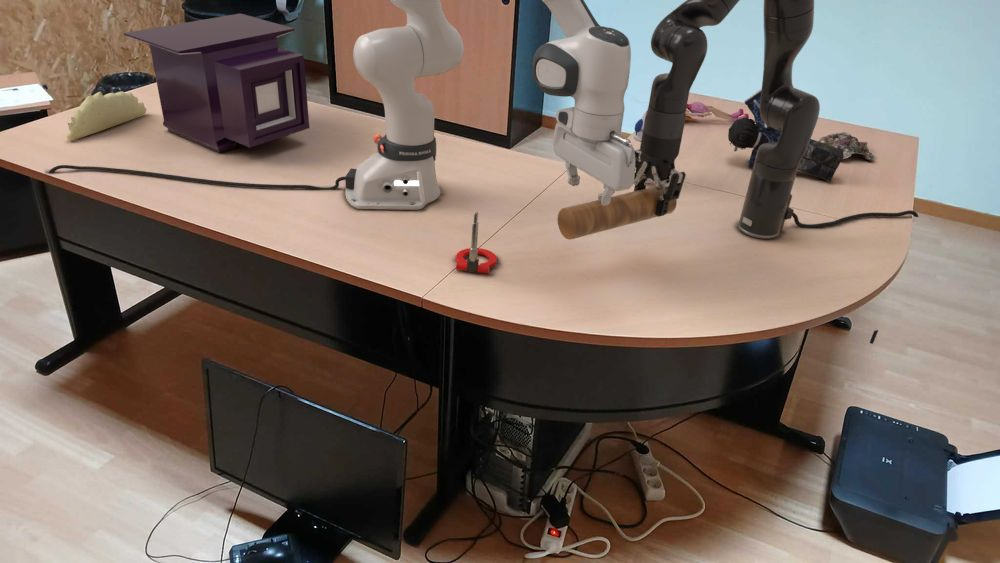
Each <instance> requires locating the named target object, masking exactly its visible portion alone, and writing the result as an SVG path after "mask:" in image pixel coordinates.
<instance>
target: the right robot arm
mask: <svg viewBox="0 0 1000 563" xmlns="http://www.w3.org/2000/svg"><path fill="white" fill-rule="evenodd" d="M739 2H740V0H685V1H683V2H682V3H681V4H679V6H677V7H676V8H675V9H673V10H672V11H670V13H668V14H667V15H666V16H665V17H663V19H661V20H660V21H659V23H658V24H657V25H656V26H655V28H654V31H652V34H651V37H650V38H651V39H650V49H651V51H652V53H653V54H654V55H655V56H656V57H657V58H660V59H661V60H664V61H667V62H668V63H671V64H672V65H671V67H670V70H669V72H666V73H660V74H658V75H656V76H655V77H654V79H653V81H652V84H651V89H650V96H649V101H648V106H647V110H646V111H647V113H646V116H645V122H644V128H643V134H642V140H641V142H640V146H639V149H634V150H635V177H634V184H633V186H634V188H633V191H638V190H642V189H646V188H647V185H646V184H647V183H646V182H647V180H648V179H649V178H651V179H652V182H653V183H654V187H655V188H656V189H657V190H658V196H659V199H658V202H657V207H656V213H655V215H656V216H658V217H657V218H659V217H663V216H666V215H667V214H666V213H667V211H668V205H669V201H671V200H675V199H677V200H678V199H679V198H680V195H681V192H682V189H683V186H684V183H685V180H686V176H687V175H686V172H685V171H678V170H677V169H676V165H675V161H676V159H677V157H678V156H679V155H680V149H681V144H682V138H683V133H684V129H685V125H686V120H685V113H686V110H687V109H686V107H687V104H688V101H689V96H690V91H691V88H692V86H693V84H694V82H695V80H696V78H697V76H698V74H699V72H700V69H701V67H702V65H703V63H704V62H705V59H706V56H707V53H708V39H707V35H706V33H705V32H704V31H703V29H701V28H703V27H715V26H717V25H720V24H721V23H722V22H723V21H724V20H725V18H726V17H727V16H728V15H729V14H730V13H731V11H733V9H734V8H735V6H736V5H737V4H738V3H739ZM814 20H815V0H763V69H762V70H763V73H762V82H761V89H762V90H761V100H760V115H761V118H762V121H763V122H764V123H765V124H766V125H768V126H770V127H772V128H774V129H776V130H778V131H780V132H781V135H780V138H779V140H778V142H769V143H764V144H762V145H760V147H759V148H758V151H757V155H756V159H755V163H754V166H753V169H752V171H751V173H750V174H751V175H750V178H749V181H748V182H749V183H748V186H747V190H746V193H745V197H744V201H743V205H742V209H741V212H740V216H739V219H738V222H737V228H738V230H739V231H740V232H741V233H743V234H745V235H747V236H749V237H752V238H755V239H762V240H771V239H775V238H777V237H778V236H779V235H780V233H782V232H783V229H784V226H785V223H786V222H785V221H786V220H791V219H792V218H793V221H794V223H795V225H796V226H797V227H800V228H805V229H819V228H824V227H831V226H836V225H839V224H841V223H844V222H847V221H851V220H855V219H859V218H868V217H886V218H888V217H889V218H891V217H892V218H894V217H896V218H897V217H902V216H907V215H912V216H913V217H914V218H919V214H918V213H917V211H914V210H904V211H899V212H864V213H856V214H853V215H848V216H845V217H841V218H839V219H836V220H833V221H827V222H821V223H815V224H814V223H813V224H806V223H802V222H800V220H799V217H798V215H797V214H796V213H795V212H794V210H795V209H793V208H791V207H790V205H791V202H792V200H793V199H792V198H793V194H792V193H791V192H792V190H793V187H794V183H795V180H796V176H797V174H798V171H799V170H798V166H799V163H800V160H801V158H802V157H803V155H804V154H805V152H806V150H807V148H808V145H809V142H810V139H812V136H813V134H814V131H815V128H816V125H817V123H818V119H819V117H820V116H819V115H820V110H821V104H820V100H819V99H818V98H817V96H815V95H814V94H811V93H808V92H807V91H804V90H801V89H799V88H796V87H794V85H793V68H794V62H795V60H796V58H797V56H798V55H799V54H800V52H801V51H802V50H803V48H804V47H805V45H806V43H807V42H808V41H809V39H810V37H811V36H812V35H811V34H812V33H813V30H814V29H813V28H814ZM662 182H664V183H662ZM664 188H665V191H666V193H665V194H664ZM665 214H666V215H665ZM878 332H879V329H875V330H873V333H872V336H871V338H870V340H869V344H871V345H873V344H874V343H875V340H876V338H877V335H878Z"/></svg>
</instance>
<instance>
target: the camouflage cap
mask: <svg viewBox="0 0 1000 563" xmlns="http://www.w3.org/2000/svg"><path fill="white" fill-rule="evenodd" d="M817 141H818V142H821V143H824V144H827V145H830V146H833V147H835V148H838V149H842V150H843V155H844V157H843V159H842V160H844V159H848V158H851V157H852V155H853V154H854V155H857V154H859V155H860V156H861V158H863V159H865V160H866V161H871V162H874V160H875V159H874V158H875V155H874V154H873V153H872V152H871V151H870V149H869V147H868V142H867V141H859V139H858V137H855V136H853V135H852V134H851V133H849V132H848V131H846V132H844V131H843V132H836V133H830V134H827V135H826V136H822V137H820V138H819V140H817ZM873 157H874V158H873Z"/></svg>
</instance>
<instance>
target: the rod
mask: <svg viewBox="0 0 1000 563" xmlns="http://www.w3.org/2000/svg"><path fill="white" fill-rule="evenodd" d="M665 193H666V191H665V188H664V194H665ZM658 199H659V196H658V190H657V189H656V188H655V186H651V187H646V188H645V189H642V190H638V191H634V190H633V191H629V192H626V193H621V194H617V195H612V196H611V200H610V204H609V205H605V206H603V205H602V204H600V203H599V202H598V199H595V200H591V201H586V202H583V203H578V204H575V205H574V204H573V205H571V206H565V207H562V208H561V209H560V210H559V211H558V214H557V227H558V230H559V232H560V234H561V235H562V236H563V237H564V238H565V239H567V240H569V241H570V240H575V239H579V238H582V237H587V236H589V235H593V234H597V233H601V232H604V231H609V230H612V229H616V228H620V227H624V226H627V225H628V226H629V225H631V224H635V223H640V222H644V221H647V220H650V219H651V220H652V219H655V218H659V217H658V216H656V215H655V213H656V207H657V202H658ZM677 200H678V199H675V200H671V201H669V205H668V211H667V213H666V214H665V215H664V216H666V215H670V214H672V213H673V212H674V211H675V210H676V208H677V202H678V201H677Z"/></svg>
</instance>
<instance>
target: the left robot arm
mask: <svg viewBox="0 0 1000 563" xmlns="http://www.w3.org/2000/svg"><path fill="white" fill-rule="evenodd" d="M389 1H390V3H391V4H393V6H395V7H397V8H398V9H400V10H401V11H403V12H405V14H406V24H405V25H403V26H394V27H387V28H378V29H376V30H375V29H374V30H373V31H369V32H367V33H365V34H361V35H360V36H359V37H358V38H357V39H356V41H355V43H354V46H353V52H352V59H353V64H354V67H355V69H356V71H357V72H358V74H359V75H360V76H361V77H362V78H363V79H364V81H367V82H368V83H370V84H371V85H372V86H373V87H374V88H375V89H376V91H377V92H378V93H379V95H380V98H381V100H382V105H383V108H384V118H385V135H383V136H382V135H381V134H380V133H375V134H374V135H373V138H372V140H373V142H374V143H375V144H376V145H377V146H376V147H377V152H375V153H373V154H372V155H370V156H369V157H368V158H367V159H365V160H364V161H362V162H361V163H359V164H358V166H357V168H350V169H349V171H348V172H347V173H346V175H345V176H340V177H338V178H337V179H335V182H334V183H335V184H334V185H333V186H330V187H320V186H314V185H310V184H271V183H270V184H268V183H249V182H248V183H247V182H234V181H225V180H215V179H214V180H213V179H206V178H199V177H198V178H197V177H190V176H183V175H174V174H167V173H160V172H153V171H146V170H145V171H144V170H137V169H126V168H116V167H104V166H88V165H87V166H80V165H71V164H61V165H56V166H54V167H52V168H50V169H49V171H48V174H53V173H54V172H56V171H57V170H61V169H70V170H77V171H78V170H80V171H81V170H82V171H103V172H114V173H125V174H134V175H141V176H152V177H159V178H166V179H173V180H181V181H188V182H195V183H204V184H211V185H212V184H213V185H221V186H222V185H224V186H234V187H246V188H263V189H266V188H267V189H309V190H315V191H329V190H330V191H332V190H336V189H338V188H339V187H340V182H341V181H345V184H344V185H345V192H344V193H345V198H346V201H347V203H348V204H349V205H350V206H351V207H353V208H354V209H357V210H402V211H403V210H404V211H405V210H407V211H408V210H411V211H414V210H416V211H419V210H422V209H423V208H424V207H425V206H426V205H428V204H430V203H432V202H434V201H435V200H437V199H438V198H439V197H440V196H441V190H440V187H439V182H438V178H437V171H436V158H437V138H436V137H435V106H434V104H433V103H432V101H431V100H430V98H428V97H427V96H426V95H425V94H422V93H420V92H418V91H416V89H415V88H416V87H415V80H416V79H419V78H425V77H433V76H438V75H442V74H444V73H447V72H449V71H452V70H454V69H456V68H457V67H459V66H460V65H461V62H462V60H463V56H464V50H465V49H464V47H465V46H464V41H463V38H462V36H461V34H460V33H459V31H458V30H457V28H456V27H455V26H453V25H452V24H451V23H450V22H449V21H448V20H447V18H446V16H445V13H444V9H443V7H442V1H441V0H389ZM541 1H542V3H544V4H545V5H546V6H547V8H548V9H549V11H550V13H551V14H552V16H553V17H554V19H555V21H556V22H557V24H558V26H559V27H560V29H561V31H562V33H563V34H564V35H565V37H563V38H559V39H555V40H551V41H548V42H546V43H544V44H541V45H540V46H539V47H538V48H537V49H536V51H535V53H534V55H533V59H532V63H531V65H532V66H531V69H532V70H531V71H532V77H533V80H534V82H535V84H536V86H537V87H538V88H539V90H540V91H541V92H543V93H544V94H546V95H548V96H553V97H564V98H565V97H570V98H572V99H573V100H574V106H569V107H565V108H561V109H557V110H556V111H555V120H556V124H555V127H554V131H553V132H554V133H553V142H552V147H553V151H554V154H555V156H557V157H559V158H560V159H562V160H564V161H565V164H564V166H565V170H566V173H567V176H568V177H567V183H568V185H570V186H572V187H576V186H579V185H580V180H581V176H580V175H578V174H579V173H578V170H580V171H582V172H584V173H585V174H586V175H588V176H590V177H592V178H593V179H595V180H596V181H599V182H600V183H602V184H603V185H602V186H603V187H602V188H603V189H604V191H603V193H599V194H598V197H597V198H598V199H597V200H598V202H599V203H600V204H602V205H603V206H605V205H609V204H610V200H611V197H612V196H614V193H615V192H621V191H626V190H629V189H631V188H632V187H633V186H634V177H635V172H636V168H635V150H636V149H635V148H634V146H633V145H632V142H631V139H629V138H627V137H624V136H623V135H621V134H622V130H623V129H622V128H623V121H624V115H625V94H626V91H627V89H628V86H629V82H630V81H629V80H630V73H631V63H632V62H631V61H632V50H631V42H630V40H629V39H630V38H628V36H626V34H624V33H623V32H622V31H620V30H618V29H616V28H613V27H609V26H603V25H602V26H601V24H600V23H598V21H597V20H596V18H595V17H594V15H593V13H592V12H591V10H590V8H589V6H588V5H587V3H586V2H585V0H541Z"/></svg>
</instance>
